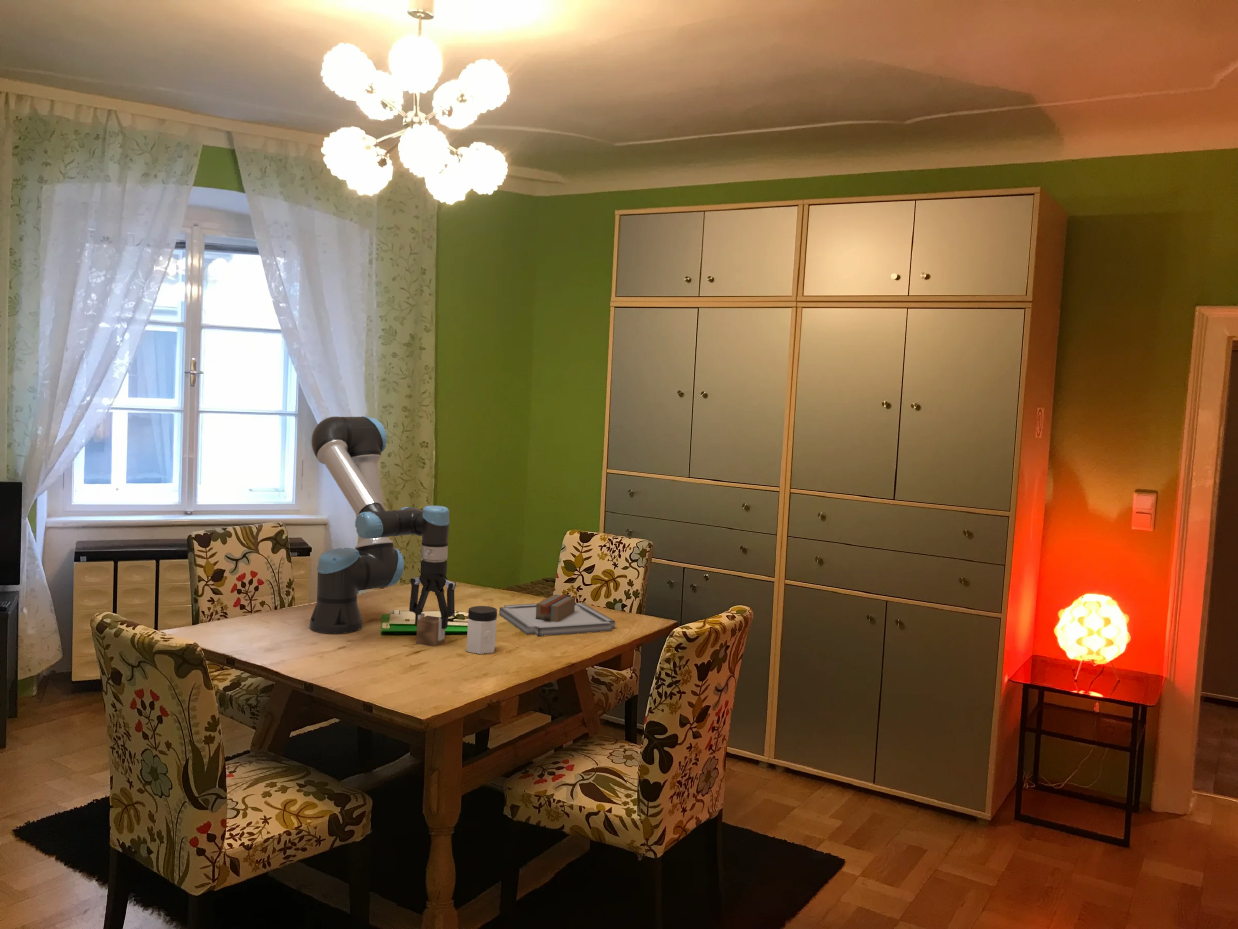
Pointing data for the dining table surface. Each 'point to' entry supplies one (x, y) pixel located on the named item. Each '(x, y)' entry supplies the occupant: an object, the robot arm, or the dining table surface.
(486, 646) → the jar
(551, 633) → the grey tray
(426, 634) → the walnut block
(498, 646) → the dining table surface
